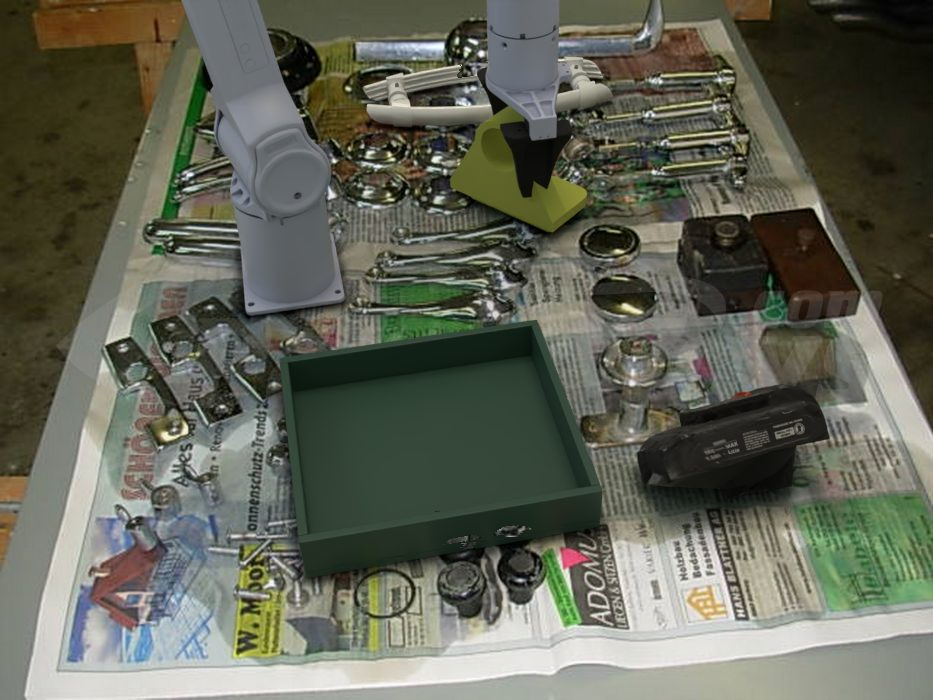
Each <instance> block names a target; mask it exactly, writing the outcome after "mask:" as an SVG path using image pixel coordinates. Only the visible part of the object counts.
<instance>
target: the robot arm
mask: <svg viewBox="0 0 933 700" xmlns="http://www.w3.org/2000/svg"><path fill="white" fill-rule="evenodd" d="M180 1H181V4H182V7H183V9H184V12H185V14H186V17H187V19H188V22H189V25H190V28H191V31H192V33H193V36H194V38H195V41H196V43H197V46H198V49H199V52H200V54H201V57H202V59H203V62H204V65H205V67H206V71H207V73H208V75H209V79H210V81H211V83H212V88H211V89H210V95H211V98H212V101H213V104H214V108H215V116H214V124H213V136H214V141H215V143H216V145H217V147H218V149H219V150H220V152H221V153H222V154H223V155H224V156H225V158H227V160H228V161H229V163H230V164H231V165H232V167H233V171H232V175H231V180H230V188H229V192H230V198H231V204H232V207H233V209H232V210H233V213H234V214H233V215H234V218H235V223H236V228H237V233H238V238H239V243H240V256H241V268H242V283H243V294H244V308H245V313H246V315H248V316H258V315H265V314H271V313H279V312H285V311H286V312H287V311H292V310H300V309H307V308H314V307H320V306H327V305H335V304H341V303H343V302H344V301H345V299H346V295H345V291H344V284H343V279H342V273H341V268H340V263H339V257H338V253H337V252H338V251H337V248H336V242H335V236H334V233H332V232H331V230H330V223H329V222H330V221H329V213H328V206H327V201H326V199H327V198H326V193H327V191H328V189H329V187H330V183H331V180H332V167H331V162H330V159H329V156H328V155H327V154H326V152H325V151H324V150H323V149H322V148H321V147H320V146H319V145H318V144H317V143H316V142H314V141H313V140H312V138H311V137H310V135H309V134H308V131H307V128H306V125H305V123H304V120H303V117H302V116H301V114H300V112H299V110H298V108H297V106H296V103H295V102H294V100H293V97H292V96H291V94H290V92H289V90H288V88H287V86H286V83H285V82H284V79H283V76H282V73H281V70H280V67H279V64H278V60H277V57H276V55H275V50H274V48H273V44H272V42H271V37H270V35H269V32H268V29H267V26H266V23H265V21H264V17H263V14H262V11H261V8H260V5H259V2H258V0H180ZM560 6H561V0H486V35H487V36H486V38H487V39H486V40H487V62H488V67H485V68H482V69H480V70H479V71H478V72H477V76H478V78H479V81H478V82H479V83H480V85H481V86H482V87H483V89H484V91H485V93H486V96H487V98H488V102H489V104H490V105H491V108H492V112H493V116H494V115H495V114H497V113H498V112H500V111H501V110H503V109H504V108H506V107H508V106H510V107H512V108H513V109H514V110H515V111H517V112H518V113H519V114H521V115H522V116H523V117H524V122H523V121H519V122H511V123H503V124H500V130H501V132H502V134H503V137H504V139H505V141H506V142H507V144H508V146H509V148H510V149H511V152H512V155H513V159H514V164H515V170H516V177H517V182H518V186H519V190H520V192H521V195H522V197H523V198H527V197H532V189H533V184H534V181H535V182H536V183H537V184H539V185H540V186H542V187H544V188H545V189H548V186H549V183H550V180H551V176H552V175H553V172H554V169H555V166H556V163H557V162H558V158H559V156H560V154H562V151H563V150H564V148H565V146H566V145H567V144H568V143H569V142H570V140H571V139H572V135H573V126H572V124H571V123H570V121H569V119H568V118H567V119H561V120H558V115H557V113H555V106H556V101H557V96H558V94H559V89H560V85H561V84H562V83H566V82H567V81H570V80H571V79H572V71H571V69H570V67H569V65H567V64H566V63H558V59H559V46H560V45H559V41H560V38H559V37H560V12H561V11H560V9H561V8H560Z"/></svg>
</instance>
